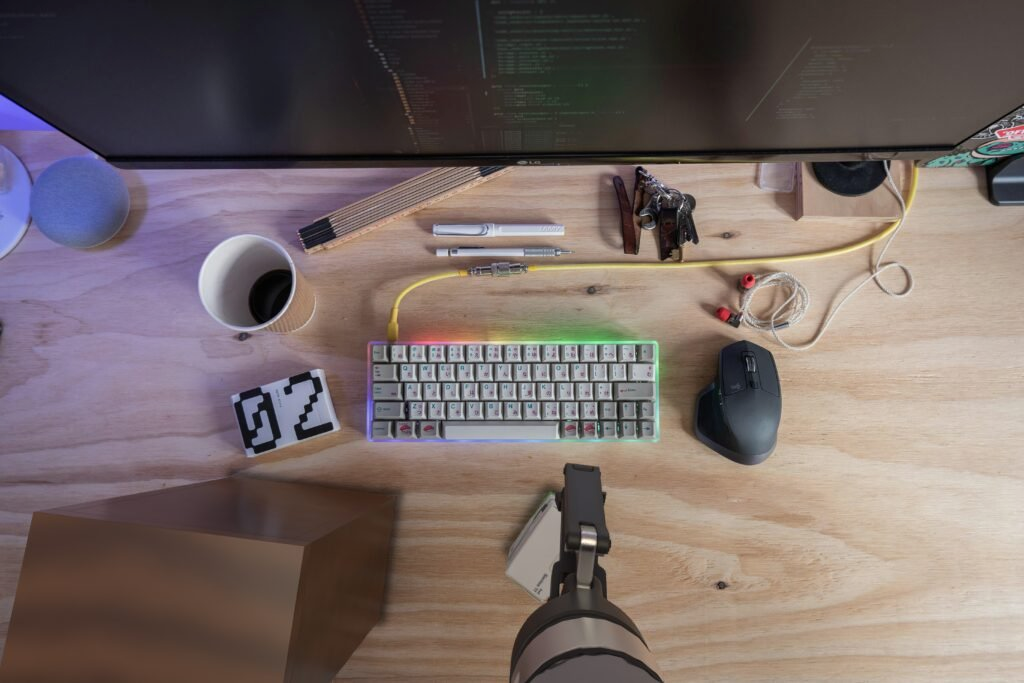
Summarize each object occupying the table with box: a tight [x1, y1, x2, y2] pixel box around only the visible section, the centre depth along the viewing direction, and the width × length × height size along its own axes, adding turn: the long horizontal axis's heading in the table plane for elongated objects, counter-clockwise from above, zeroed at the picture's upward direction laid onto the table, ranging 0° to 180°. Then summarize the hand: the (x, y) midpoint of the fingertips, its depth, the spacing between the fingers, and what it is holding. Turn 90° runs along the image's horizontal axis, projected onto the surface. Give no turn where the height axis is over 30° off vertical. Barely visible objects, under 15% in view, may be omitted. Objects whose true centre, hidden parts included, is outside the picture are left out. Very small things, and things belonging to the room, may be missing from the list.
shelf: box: [0, 508, 312, 683], centre depth 43 cm, size 14×20×2 cm
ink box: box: [504, 490, 561, 604], centre depth 65 cm, size 9×5×12 cm, turn 144°
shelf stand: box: [50, 475, 397, 683], centre depth 57 cm, size 14×20×28 cm
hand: (562, 580), depth 50 cm, fingers open, 13 cm apart
